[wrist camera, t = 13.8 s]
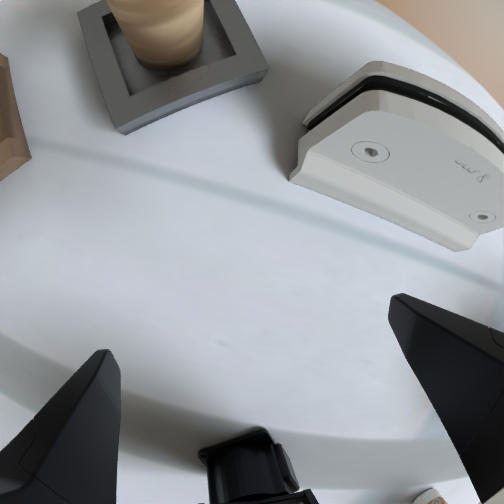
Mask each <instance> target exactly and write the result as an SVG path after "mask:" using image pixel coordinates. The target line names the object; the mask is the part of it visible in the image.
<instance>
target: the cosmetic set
mask: <svg viewBox="0 0 504 504" xmlns="http://www.w3.org/2000/svg"><path fill="white" fill-rule="evenodd" d="M414 504H447V503H446V501H445V500H444V499H443V497H442V496H441V495H440V493H439V492H438V491H437V490H436V489H429V490H427V491H425V492H423V493H422V494H421V495H419V496H418V497H417V498H416V499H415V501H414Z"/></svg>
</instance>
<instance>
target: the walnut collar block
mask: <svg viewBox="0 0 504 504" xmlns="http://www.w3.org/2000/svg"><path fill="white" fill-rule="evenodd" d="M30 159H32V158H31V154H30V151H29V148H28V145H27V141H26V138H25V134H24V131H23V127H22V123H21V119H20V116H19V111H18V107H17V103H16V99H15V94H14V90H13V85H12V80H11V74H10V69H9V63H8V58H7V57H6V56H4V55H2V54H1V53H0V181H1V180H3V179H4V178H5V177H7V176H8V175H9V174H11V173H12V172H13V171H15V170H16V169H17V168H19V167H20V166H22V165H23V164H24V163H26V162H27V161H29V160H30Z"/></svg>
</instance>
